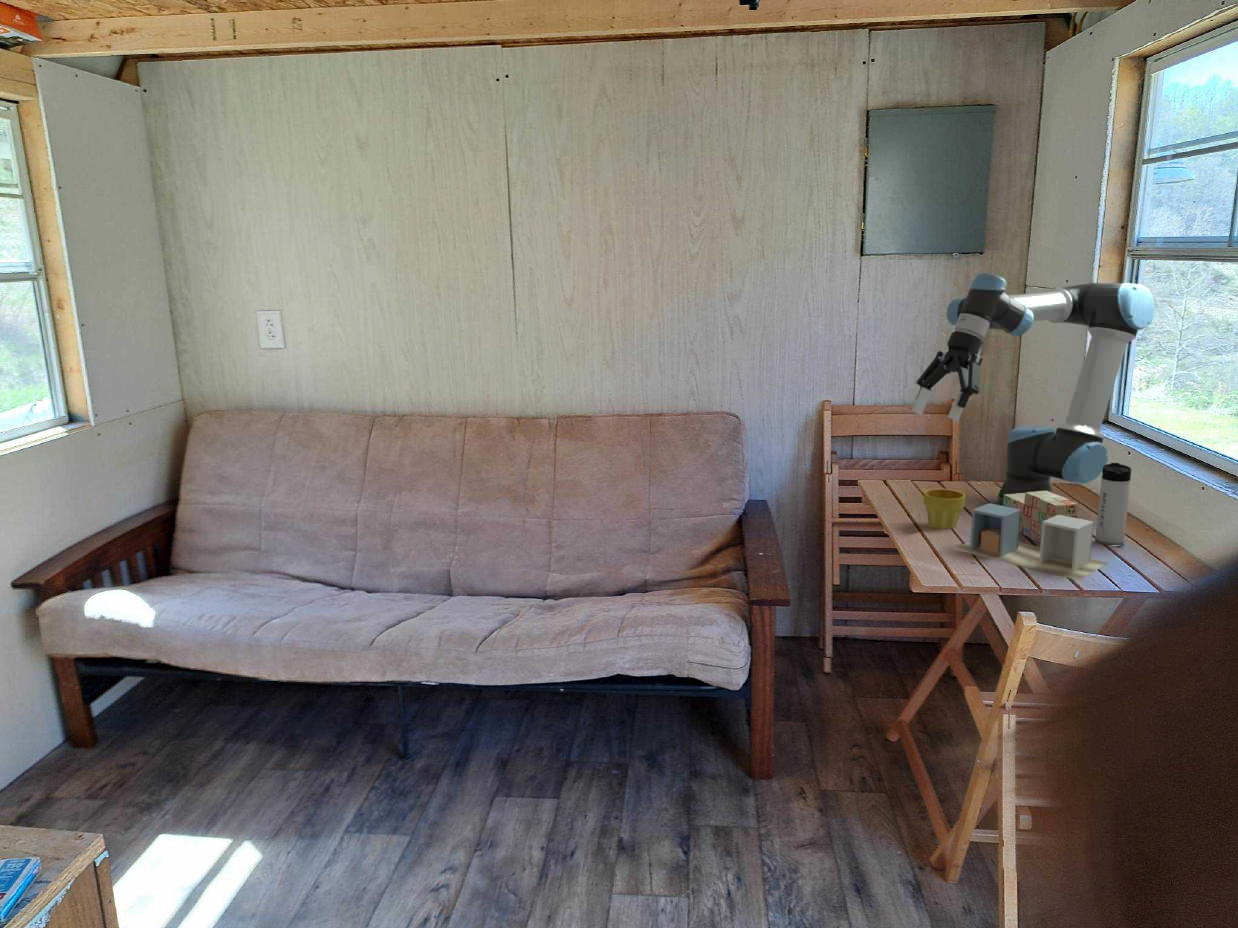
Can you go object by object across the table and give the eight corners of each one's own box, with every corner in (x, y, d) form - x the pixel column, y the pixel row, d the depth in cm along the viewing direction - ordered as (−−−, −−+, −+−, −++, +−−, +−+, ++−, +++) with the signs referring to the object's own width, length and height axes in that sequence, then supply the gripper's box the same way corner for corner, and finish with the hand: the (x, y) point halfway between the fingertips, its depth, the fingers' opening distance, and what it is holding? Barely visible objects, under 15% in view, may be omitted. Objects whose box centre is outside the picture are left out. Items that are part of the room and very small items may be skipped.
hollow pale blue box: (986, 541, 221) (989, 503, 219) (1017, 548, 215) (1020, 509, 213) (970, 548, 216) (972, 509, 214) (1001, 556, 210) (1004, 516, 208)
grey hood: (1054, 554, 210) (1058, 514, 208) (1089, 562, 204) (1093, 521, 202) (1038, 562, 205) (1042, 521, 203) (1074, 571, 199) (1078, 529, 197)
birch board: (985, 538, 226) (985, 534, 226) (1108, 566, 204) (1108, 562, 204) (952, 552, 217) (952, 548, 216) (1077, 584, 194) (1078, 580, 194)
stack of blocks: (1000, 527, 235) (1003, 483, 232) (1021, 525, 236) (1025, 481, 233) (1051, 553, 215) (1055, 504, 212) (1074, 551, 216) (1079, 502, 213)
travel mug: (1120, 539, 222) (1128, 463, 218) (1125, 548, 216) (1134, 469, 212) (1092, 538, 224) (1100, 461, 220) (1097, 546, 218) (1105, 467, 214)
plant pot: (966, 535, 229) (968, 499, 227) (924, 533, 232) (926, 497, 229) (959, 523, 239) (961, 488, 237) (919, 522, 241) (921, 487, 239)
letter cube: (989, 544, 218) (991, 526, 217) (1007, 548, 215) (1008, 530, 214) (980, 548, 216) (981, 530, 215) (998, 553, 212) (999, 534, 211)
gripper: (923, 328, 225) (891, 405, 226) (993, 330, 202) (957, 416, 203) (945, 340, 228) (913, 416, 229) (1016, 343, 204) (980, 427, 205)
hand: (934, 416), depth 216 cm, fingers open, 13 cm apart
